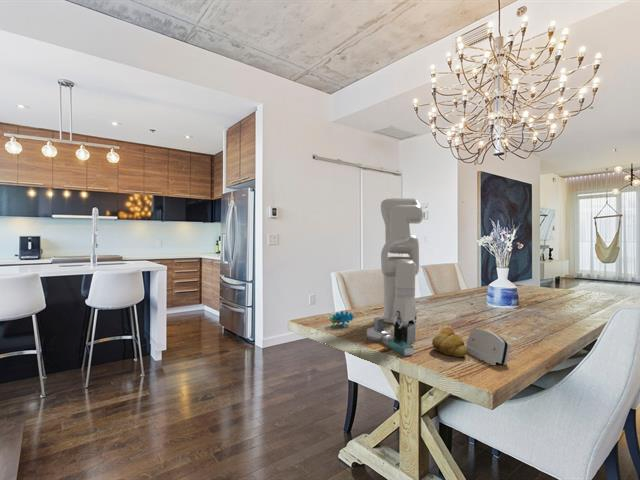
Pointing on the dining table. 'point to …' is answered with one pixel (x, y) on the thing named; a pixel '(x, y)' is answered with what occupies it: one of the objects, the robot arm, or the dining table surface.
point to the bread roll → (449, 343)
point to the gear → (341, 318)
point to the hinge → (488, 346)
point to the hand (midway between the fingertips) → (404, 335)
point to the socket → (408, 333)
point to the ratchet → (388, 338)
